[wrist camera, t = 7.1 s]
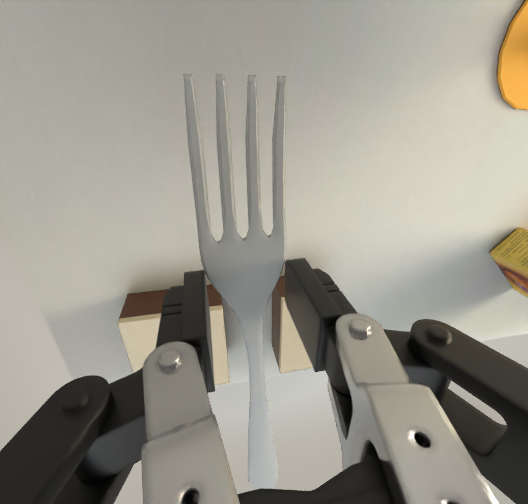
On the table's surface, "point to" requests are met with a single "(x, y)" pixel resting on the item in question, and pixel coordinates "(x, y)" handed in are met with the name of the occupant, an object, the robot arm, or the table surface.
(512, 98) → the cup
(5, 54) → the table surface
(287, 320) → the cake slice
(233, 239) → the fork
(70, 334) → the table surface
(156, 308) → the cake
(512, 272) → the candy box
